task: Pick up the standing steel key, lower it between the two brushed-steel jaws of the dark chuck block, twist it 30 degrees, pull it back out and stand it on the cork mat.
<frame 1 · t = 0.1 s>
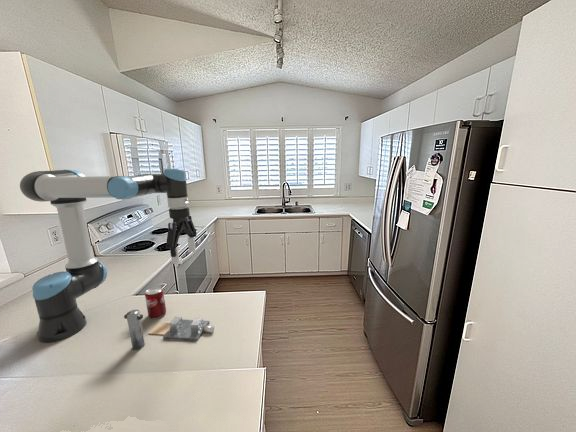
hand: (184, 257, 106), 28 cm above the worktop, fingers open, 13 cm apart
chuck block: (187, 330, 103), on the worktop
soda can: (157, 315, 114), on the worktop
cork mat: (162, 329, 104), on the worktop
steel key: (138, 346, 95), on the worktop
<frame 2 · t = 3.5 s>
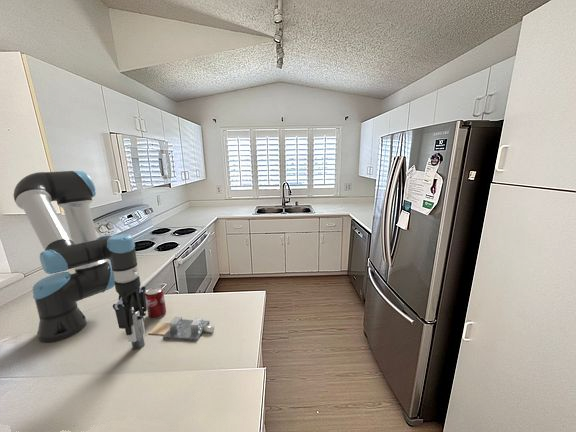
hand: (136, 336, 94), 4 cm above the worktop, fingers closed on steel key, 4 cm apart
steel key: (138, 346, 95), on the worktop, touching gripper
everything else where it was.
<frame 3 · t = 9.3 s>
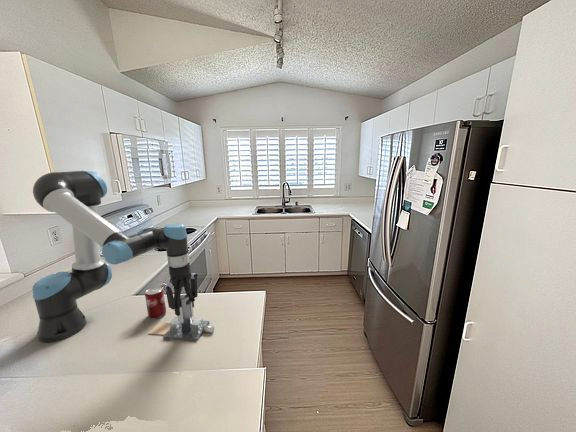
hand: (185, 318, 101), 6 cm above the worktop, fingers closed on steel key, 4 cm apart
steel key: (187, 328, 102), point 1 cm above the worktop, touching gripper
everything else where it was.
when the fingers open (6 cm above the worktop, at t = 15.4 s): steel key stays where it is, resting on cork mat.
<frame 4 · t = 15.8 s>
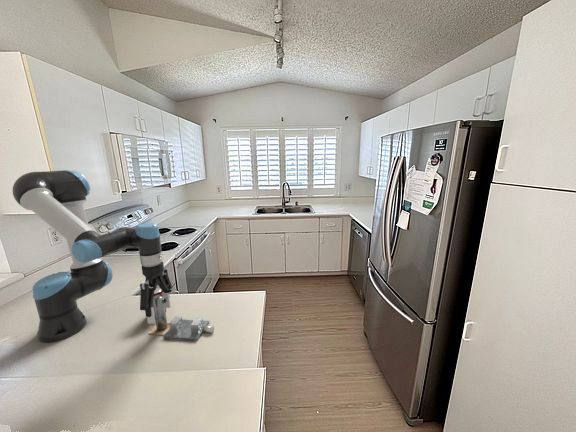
hand: (159, 314, 102), 7 cm above the worktop, fingers open, 10 cm apart
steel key: (162, 328, 104), resting on cork mat
everything else where it was.
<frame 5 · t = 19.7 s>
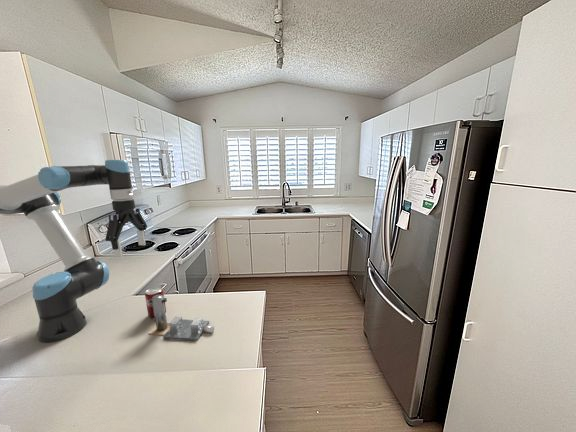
hand: (131, 250, 104), 32 cm above the worktop, fingers open, 13 cm apart
nothing on the worktop moved.
at the end: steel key inside the target area on the cork mat (0.1 cm from its centre), point 0.4 cm above the cork mat's base; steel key tilted 1°; the gripper is holding nothing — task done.
